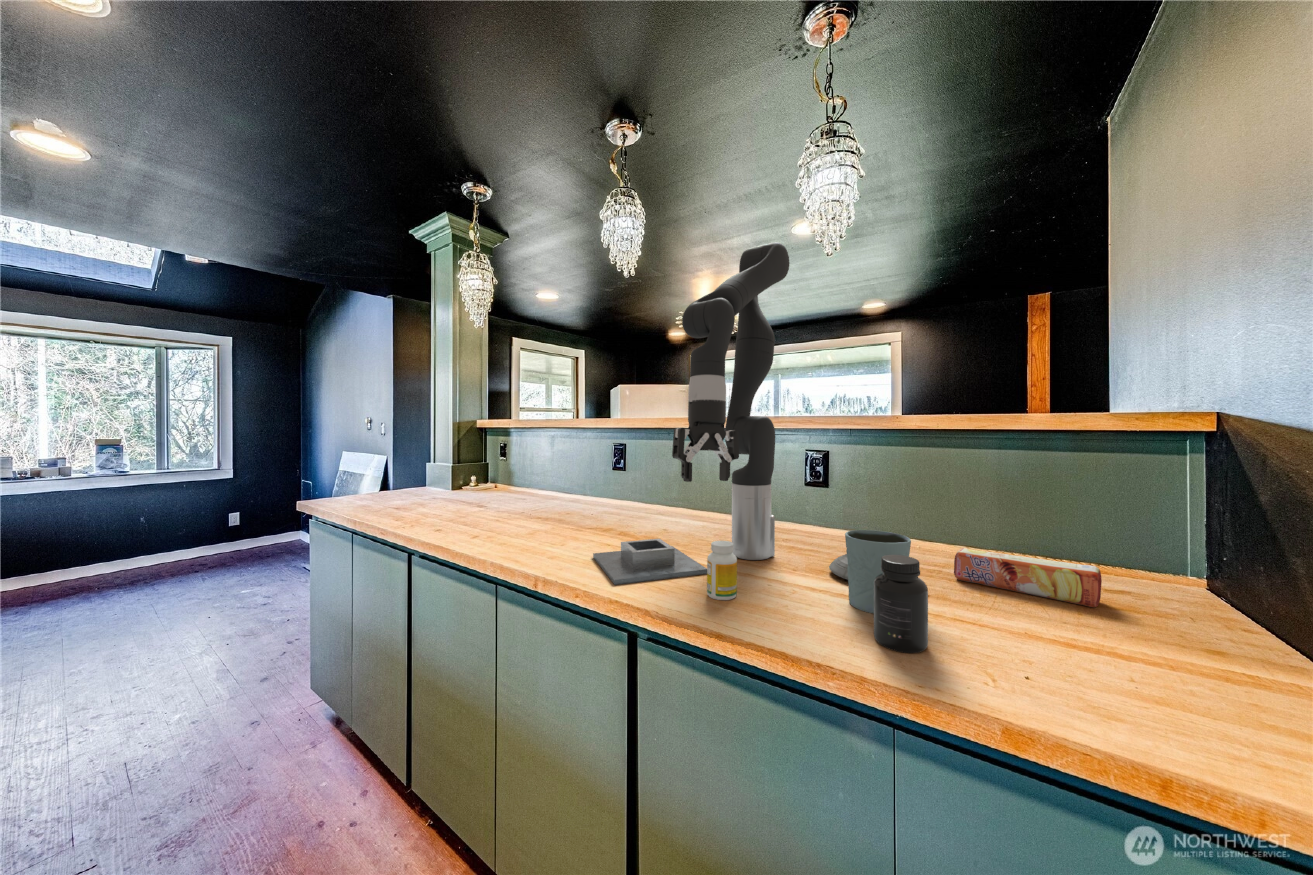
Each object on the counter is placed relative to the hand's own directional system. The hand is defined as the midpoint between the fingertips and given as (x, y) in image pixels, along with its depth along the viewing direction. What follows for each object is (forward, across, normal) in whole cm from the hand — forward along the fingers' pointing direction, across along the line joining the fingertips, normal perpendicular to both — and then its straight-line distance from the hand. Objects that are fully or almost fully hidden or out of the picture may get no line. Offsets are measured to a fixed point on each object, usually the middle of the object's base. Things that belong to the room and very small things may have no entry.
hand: (705, 481), depth 91 cm
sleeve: (+20, +6, -15) cm, 25 cm away
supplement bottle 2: (+21, -11, +34) cm, 42 cm away
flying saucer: (+20, -32, +12) cm, 39 cm away
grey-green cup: (+20, -20, +23) cm, 37 cm away
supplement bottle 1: (+20, +1, +8) cm, 22 cm away
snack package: (+20, -51, +31) cm, 62 cm away
